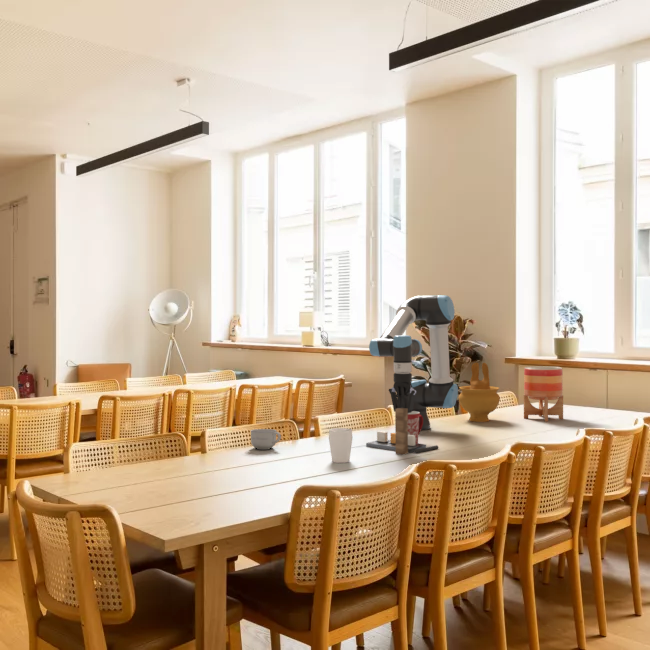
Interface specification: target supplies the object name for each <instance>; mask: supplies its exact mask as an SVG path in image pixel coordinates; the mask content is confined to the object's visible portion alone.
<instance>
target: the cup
mask: <svg viewBox="0 0 650 650" xmlns="http://www.w3.org/2000/svg"><path fill="white" fill-rule="evenodd" d="M328 431H329V432H328V440H329V441H328V442H329V449H330V456H331V461H332V462H333V463H338V464H345V463H349V462H350V458H351V452H352V446H353V445H352V444H353V429H352V428H348V427H347V428H346V427H334V428H331V429H328Z"/></svg>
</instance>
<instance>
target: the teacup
mask: <svg viewBox="0 0 650 650" xmlns="http://www.w3.org/2000/svg"><path fill="white" fill-rule="evenodd" d="M281 439H282V435H281V433H280V431H279V432H278V431H277V429H274V428H273V429H272V428H258V429H257V428H256V429H251V430H250V443H251V446H252V447H254V449H255V448H257V449H256V450H271V449H273V448H274V446H275V445H276V444H277V443H279V442H280V441H281ZM270 448H271V449H270Z"/></svg>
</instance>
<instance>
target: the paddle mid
mask: <svg viewBox="0 0 650 650" xmlns="http://www.w3.org/2000/svg"><path fill="white" fill-rule="evenodd" d="M390 440H391V443H395V444H396V432H391V433H390Z"/></svg>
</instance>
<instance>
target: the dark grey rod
mask: <svg viewBox="0 0 650 650" xmlns="http://www.w3.org/2000/svg"><path fill="white" fill-rule="evenodd" d="M438 449H439V446H438V445H437V444H436V445H432V446H426V448H421V449H416V450H414V452H413V453H415V454H418V453H419V454H420V453H423V452H427V451H433V450H438Z"/></svg>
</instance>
